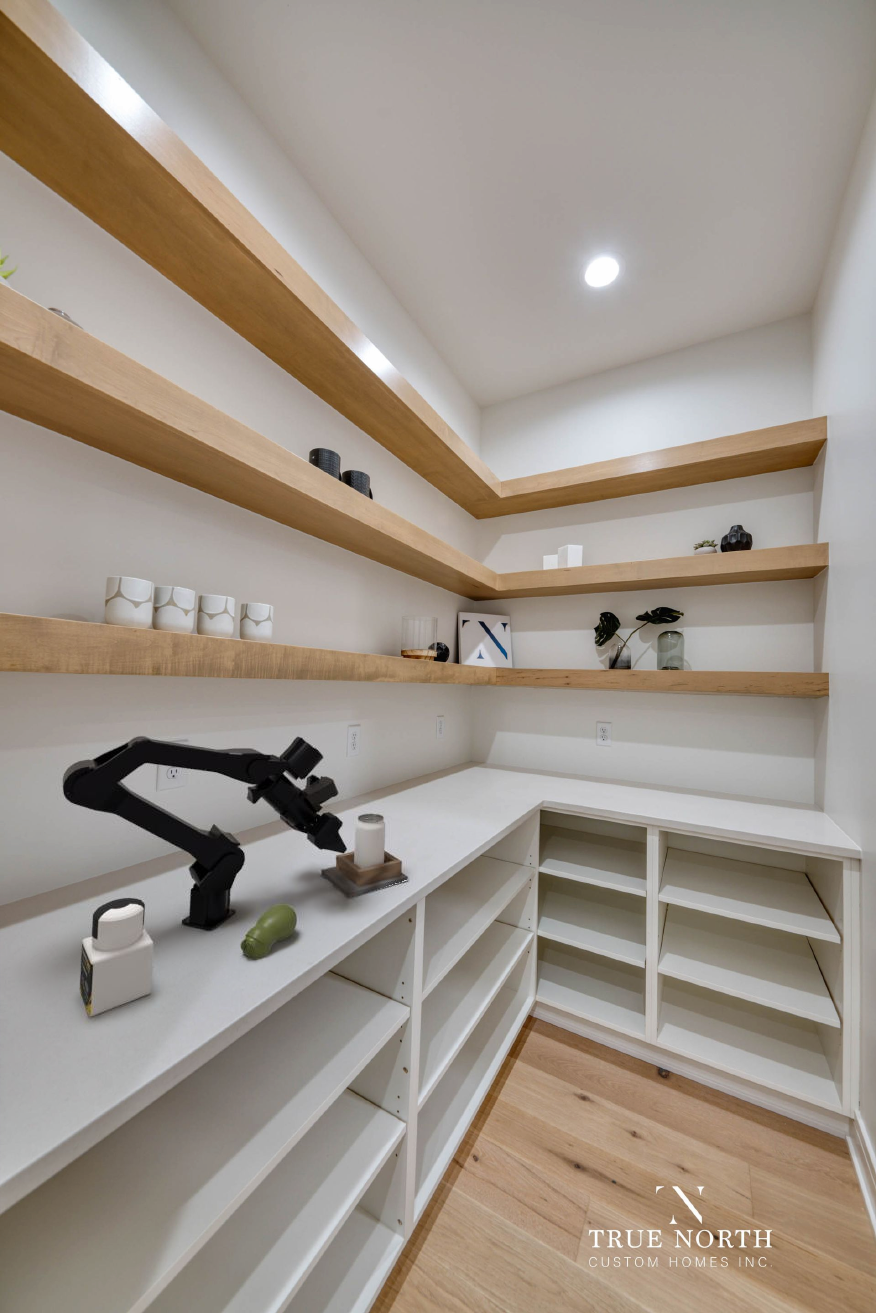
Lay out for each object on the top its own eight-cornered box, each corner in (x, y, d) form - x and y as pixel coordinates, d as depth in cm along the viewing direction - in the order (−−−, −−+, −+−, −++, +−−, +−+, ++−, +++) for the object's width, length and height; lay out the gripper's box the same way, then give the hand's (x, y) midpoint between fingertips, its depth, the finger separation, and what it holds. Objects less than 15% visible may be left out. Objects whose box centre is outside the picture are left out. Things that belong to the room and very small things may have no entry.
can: (374, 881, 102) (376, 823, 102) (347, 875, 104) (350, 819, 105) (388, 870, 108) (390, 815, 108) (362, 864, 110) (365, 811, 111)
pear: (302, 902, 83) (257, 940, 74) (304, 931, 84) (260, 972, 75) (278, 894, 85) (231, 930, 77) (280, 922, 86) (234, 961, 77)
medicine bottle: (79, 990, 67) (83, 902, 68) (138, 969, 72) (142, 887, 72) (88, 1018, 62) (93, 923, 62) (151, 993, 67) (156, 906, 67)
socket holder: (349, 898, 97) (349, 877, 97) (321, 874, 107) (322, 855, 107) (407, 881, 105) (408, 862, 105) (376, 860, 115) (377, 843, 115)
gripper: (335, 775, 92) (383, 824, 98) (296, 757, 106) (340, 801, 113) (292, 824, 87) (346, 872, 93) (258, 799, 101) (306, 842, 108)
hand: (335, 843), depth 102 cm, fingers open, 9 cm apart
